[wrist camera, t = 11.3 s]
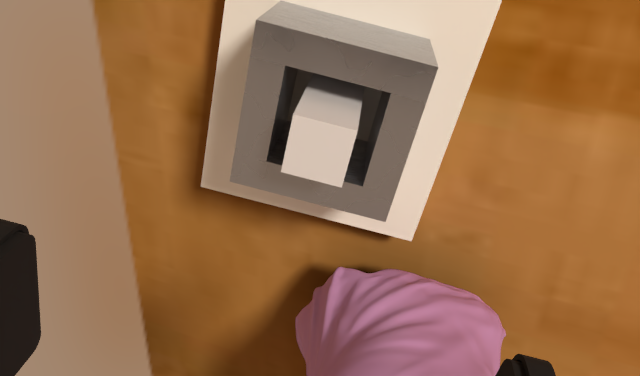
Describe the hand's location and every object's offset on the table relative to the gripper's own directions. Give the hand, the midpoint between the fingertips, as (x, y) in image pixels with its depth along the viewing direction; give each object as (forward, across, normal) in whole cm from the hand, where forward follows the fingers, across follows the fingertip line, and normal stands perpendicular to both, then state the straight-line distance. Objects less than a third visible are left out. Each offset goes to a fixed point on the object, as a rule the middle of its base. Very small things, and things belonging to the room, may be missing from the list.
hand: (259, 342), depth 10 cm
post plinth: (+19, 0, +1) cm, 19 cm away
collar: (+17, 0, 0) cm, 17 cm away
